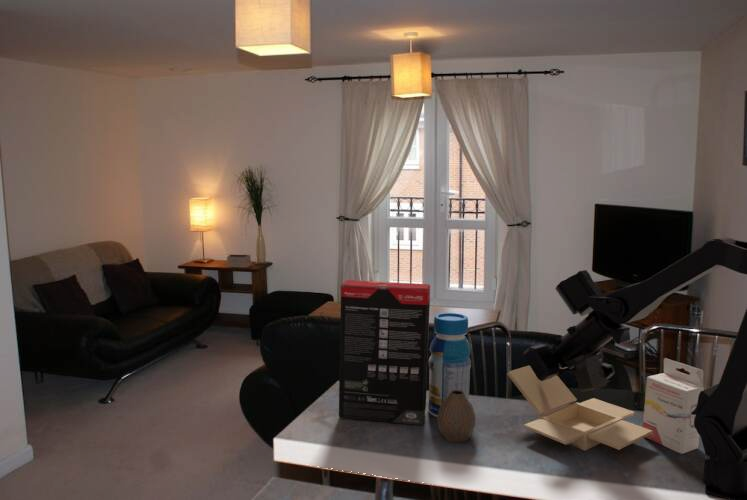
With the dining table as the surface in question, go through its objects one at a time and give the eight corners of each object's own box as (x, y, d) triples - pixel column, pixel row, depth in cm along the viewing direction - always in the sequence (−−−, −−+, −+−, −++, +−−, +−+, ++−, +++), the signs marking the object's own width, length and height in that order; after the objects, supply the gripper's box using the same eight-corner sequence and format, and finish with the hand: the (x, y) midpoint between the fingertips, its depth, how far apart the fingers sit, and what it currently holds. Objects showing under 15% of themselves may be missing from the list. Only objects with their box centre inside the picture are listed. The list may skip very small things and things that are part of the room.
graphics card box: (427, 413, 128) (430, 280, 124) (425, 427, 121) (429, 287, 117) (344, 407, 130) (345, 277, 127) (337, 421, 124) (338, 284, 120)
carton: (666, 437, 118) (667, 422, 118) (599, 472, 104) (600, 455, 104) (590, 410, 130) (591, 396, 130) (521, 438, 117) (521, 422, 116)
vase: (464, 449, 112) (465, 402, 111) (430, 439, 116) (431, 393, 115) (481, 436, 118) (482, 390, 117) (448, 426, 122) (449, 382, 120)
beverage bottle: (461, 424, 123) (464, 323, 120) (420, 415, 127) (423, 318, 124) (474, 409, 130) (478, 314, 128) (436, 402, 134) (439, 309, 131)
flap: (576, 399, 127) (544, 360, 132) (540, 413, 119) (508, 371, 125) (575, 401, 127) (543, 362, 132) (538, 415, 120) (506, 373, 125)
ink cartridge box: (640, 436, 118) (646, 360, 116) (657, 431, 121) (663, 356, 119) (682, 455, 111) (688, 374, 109) (699, 449, 114) (706, 369, 111)
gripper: (586, 384, 107) (530, 424, 117) (643, 363, 119) (588, 401, 129) (549, 328, 112) (498, 372, 122) (608, 313, 124) (557, 354, 134)
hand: (537, 376), depth 127 cm, fingers closed
